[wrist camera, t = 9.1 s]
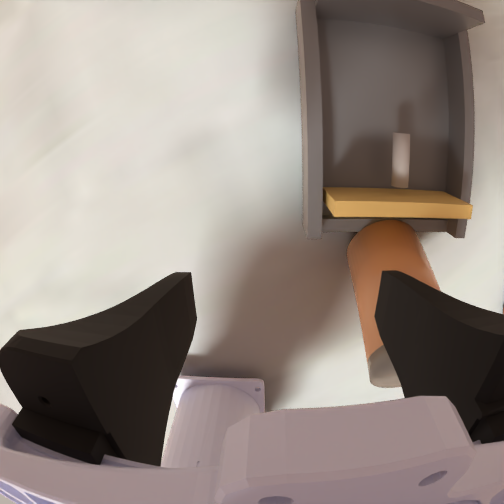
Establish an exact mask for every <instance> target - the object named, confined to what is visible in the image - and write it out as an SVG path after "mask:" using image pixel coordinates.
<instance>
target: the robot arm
mask: <svg viewBox="0 0 504 504" xmlns="http://www.w3.org/2000/svg"><path fill="white" fill-rule="evenodd" d="M374 317H375V321H376V325H377V328H378V331H379V335H380V338H381V340H382V342H383V344H384V347H385V349H386V351H387V353H388V356H389V358H390V360H391V362H392V364H393V367H394V369H395V371H396V374H397V376H398V378H399V381H400V384H401V386H402V389H403V393H404V397H405V398H403V399H397V400H390V401H383V402H375V403H367V404H358V405H348V406H336V407H321V408H300V409H281V410H275V411H269V412H265V395H264V381H263V380H262V379H259V378H218V377H198V376H182V375H180V372H181V369H182V367H183V364H184V361H185V359H186V356H187V353H188V351H189V348H190V345H191V342H192V340H193V335H194V331H195V326H196V321H197V315H196V308H195V300H194V293H193V285H192V276H191V272H175V273H173V274H171V275H169V276H167V277H165V278H164V279H162V280H160V281H159V282H157V283H155V284H154V285H152V286H150V287H149V288H147V289H146V290H144V291H142V292H140V293H139V294H137V295H135V296H133V297H131V298H130V299H128V300H126V301H124V302H122V303H120V304H118V305H116V306H114V307H112V308H109V309H107V310H105V311H102V312H100V313H97V314H94V315H91V316H88V317H85V318H82V319H79V320H76V321H72V322H68V323H64V324H59V325H55V326H49V327H42V328H34V329H26V330H19V331H18V332H17V333H16V334H15V335H14V336H13V337H12V338H11V339H10V340H9V341H8V342H7V343H6V344H5V345H4V346H3V347H2V349H1V350H0V369H1V372H2V374H3V376H4V378H5V380H6V382H7V383H8V385H9V387H10V388H11V390H12V392H13V393H14V395H15V397H16V398H17V400H18V401H19V403H20V404H21V406H22V407H23V408H22V409H21V411H20V412H19V414H17V413H16V412H15V411H14V410H12V409H11V408H9V407H7V406H5V405H3V404H0V494H2V495H3V496H5V497H6V498H8V499H10V500H11V501H13V502H15V503H16V504H504V314H500V313H496V312H492V311H488V310H485V309H482V308H479V307H476V306H473V305H470V304H468V303H465V302H462V301H460V300H458V299H455V298H453V297H451V296H449V295H447V294H445V293H443V292H441V291H439V290H437V289H435V288H433V287H431V286H429V285H427V284H425V283H423V282H421V281H419V280H417V279H415V278H414V277H412V276H410V275H407V274H405V273H403V272H400V271H397V270H387V271H382V274H381V281H380V287H379V293H378V299H377V304H376V310H375V315H374ZM172 397H173V399H174V402H175V405H176V408H177V410H176V414H175V417H174V420H173V424H172V427H171V431H170V434H169V438H168V441H167V444H166V448H165V451H164V455H163V458H162V451H163V444H164V437H165V431H166V426H167V421H168V415H169V410H170V406H171V401H172ZM161 458H162V462H161Z"/></svg>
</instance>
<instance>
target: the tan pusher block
mask: <svg viewBox="0 0 504 504" xmlns="http://www.w3.org/2000/svg"><path fill="white" fill-rule="evenodd" d="M409 161H410V134H404V133H393V153H392V180H391V186H394V187H399V188H408V181H409ZM323 202H324V203H325V204H326V206H327V207H328V209H329V210H330V212H331V213H332V214H333V216H334V217H414V218H454V219H471V214H472V207H473V205H471V204H469V203H467V202H465V201H463V200H461V199H458V198H456V197H454V196H452V195H450V194H448V193H446V192H444V191H429V190H411V189H388V188H353V187H323Z"/></svg>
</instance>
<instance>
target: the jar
mask: <svg viewBox="0 0 504 504" xmlns="http://www.w3.org/2000/svg"><path fill="white" fill-rule="evenodd" d="M347 260H348V264H349V269H350V273H351V278H352V282H353V287H354V292H355V297H356V302H357V307H358V312H359V317H360V322H361V328H362V333H363V339H364V345H365V351H366V357H367V364H368V370H369V377H370V382H371V384H373V385H374V386H377V387H382V388H393V387H402V386H401V384H400V381H399V378H398V376H397V374H396V371H395V369H394V367H393V364H392V362H391V360H390V358H389V356H388V353H387V351H386V349H385V347H384V344H383V342H382V340H381V338H380V335H379V331H378V328H377V325H376V321H375V317H374V315H375V310H376V304H377V299H378V293H379V287H380V281H381V274H382V271H387V270H397V271H400V272H403V273H405V274H407V275H410V276H412V277H414V278H415V279H417V280H419V281H421V282H423V283H425V284H427V285H429V286H431V287H433V288H435V289H437V290H439V291H440V288H439V285H438V283H437V280H436V278H435V275H434V273H433V270H432V268H431V266H430V263H429V261H428V259H427V256H426V254H425V252H424V249H423V247H422V245H421V243H420V240H419V238H418V236H417V234H416V232H415V230H414V229H413V228H412V227H411V226H410V225H409V224H407V223H405V222H402V221H398V220H384V221H379V222H376V223H373V224H371V225H369V226H367V227H365V228H364V229H362V230H361V231H359V232H358V233H357V234H356V235H355V236H354V237H353V239H352V240H351V242H350V243H349V245H348V248H347Z"/></svg>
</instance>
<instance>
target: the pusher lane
mask: <svg viewBox="0 0 504 504" xmlns="http://www.w3.org/2000/svg"><path fill="white" fill-rule="evenodd" d="M484 23H485V21H484V16H483V11H482V10H479V9H477V8H474V7H472V6H469V5H467V4H464V3H462V2H459V1H456V0H298V2H297V7H296V24H297V38H298V53H299V71H300V93H301V121H302V172H303V220H302V224H303V227H304V230H305V233H306V236H307V239H321V238H322V232H359V231H361V230H362V229H364V228H365V227H367V226H369V225H371V224H373V223H376V222H379V221H384V220H398V221H402V222H405V223H407V224H409V225H410V226H411V227H412V228H413V229H414V230H415V232H448V233H449V234H450V235H452V236H453V237H454V238H464V237H465V231H466V225H467V219H454V218H414V217H334V216H333V214H332V213H331V212H330V210H329V209H328V207H327V206H326V204H325V203H324V202H323V187H353V188H388V189H411V190H429V191H444V192H446V193H448V194H450V195H452V196H454V197H456V198H458V199H461V200H463V201H465V202H467V203H470V195H471V185H472V174H473V159H474V90H473V75H472V64H471V55H470V47H469V40H468V33H467V29H470V28H473V27H475V26H478V25H481V24H484ZM393 133H404V134H410V161H409V181H408V188H399V187H394V186H391V180H392V153H393Z"/></svg>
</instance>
